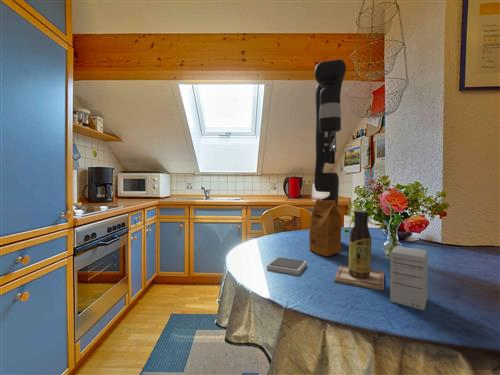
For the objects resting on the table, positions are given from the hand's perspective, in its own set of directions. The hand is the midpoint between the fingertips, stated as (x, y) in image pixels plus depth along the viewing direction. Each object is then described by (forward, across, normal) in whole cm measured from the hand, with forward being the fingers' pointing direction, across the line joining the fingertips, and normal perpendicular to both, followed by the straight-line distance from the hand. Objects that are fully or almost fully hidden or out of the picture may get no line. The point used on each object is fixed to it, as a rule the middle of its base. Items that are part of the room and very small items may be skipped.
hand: (329, 163), depth 92 cm
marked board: (+36, +11, +11) cm, 39 cm away
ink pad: (+36, +12, -12) cm, 40 cm away
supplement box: (+36, +21, +23) cm, 48 cm away
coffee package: (+36, -12, -4) cm, 38 cm away
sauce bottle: (+36, +11, +11) cm, 39 cm away
